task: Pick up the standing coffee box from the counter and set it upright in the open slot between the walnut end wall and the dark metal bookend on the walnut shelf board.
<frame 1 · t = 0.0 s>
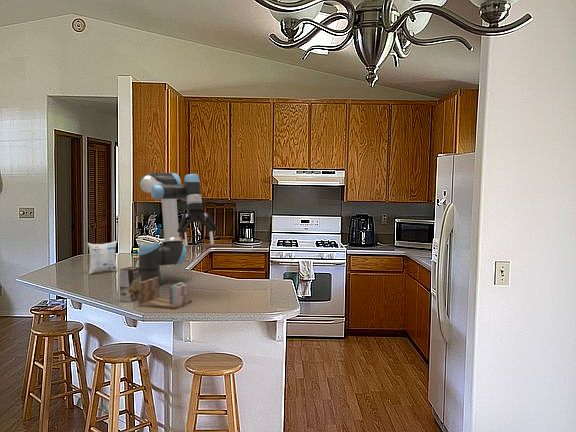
hand: (199, 245, 274), 28 cm above the countertop, tool tilted 20°, fingers open, 13 cm apart
pouch: (103, 273, 348), on the countertop
coffee box: (130, 300, 276), on the countertop
shelf: (165, 304, 267), on the countertop
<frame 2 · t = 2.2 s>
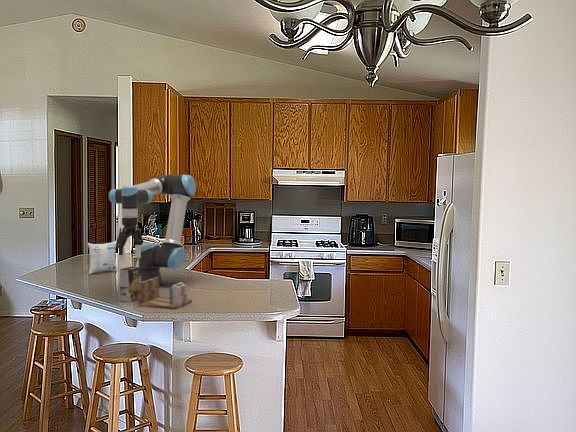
hand: (130, 259, 274), 20 cm above the countertop, tool pointing down, fingers open, 13 cm apart
nothing on the countertop moved.
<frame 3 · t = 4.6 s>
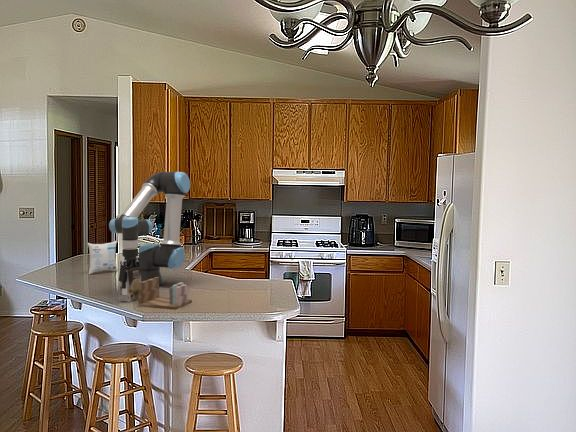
hand: (130, 292, 275), 4 cm above the countertop, tool pointing down, fingers closed on coffee box, 9 cm apart
coffee box: (130, 300, 276), on the countertop, touching gripper
everything else where it was.
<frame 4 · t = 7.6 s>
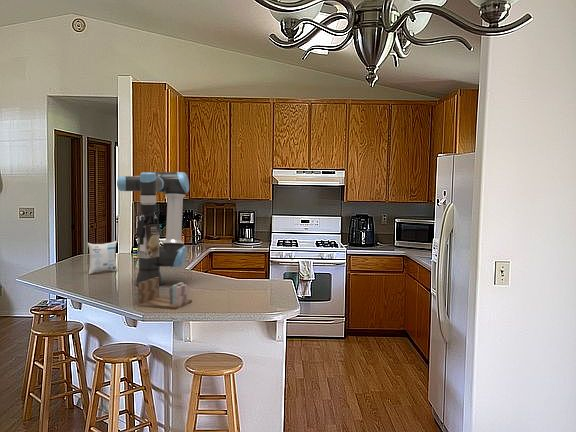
hand: (148, 250, 268), 26 cm above the countertop, tool pointing down, fingers closed on coffee box, 9 cm apart
coffee box: (148, 257, 269), point 22 cm above the countertop, touching gripper
everything else where it was.
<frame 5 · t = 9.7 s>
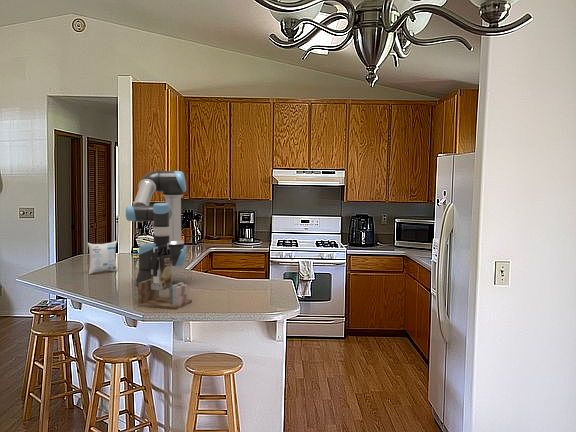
hand: (161, 281, 267), 11 cm above the countertop, tool pointing down, fingers closed on coffee box, 9 cm apart
coffee box: (161, 288, 267), point 7 cm above the countertop, touching gripper
everything else where it was.
when the fingers open (6 cm above the countertop, at t = 11.2 s): coffee box drops 1 cm, resting on shelf.
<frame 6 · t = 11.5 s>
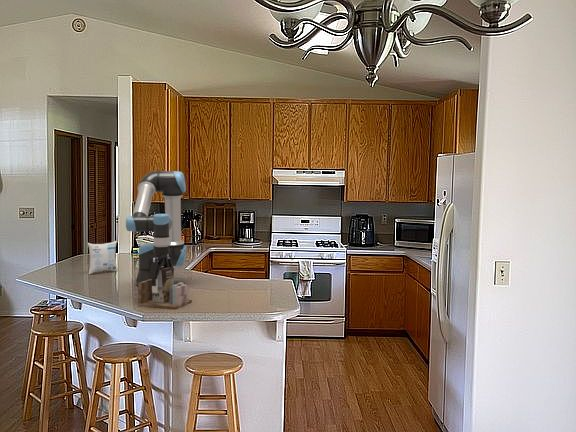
hand: (161, 290, 267), 7 cm above the countertop, tool pointing down, fingers open, 12 cm apart
coffee box: (163, 301, 269), point 1 cm above the countertop, touching shelf
everything else where it was.
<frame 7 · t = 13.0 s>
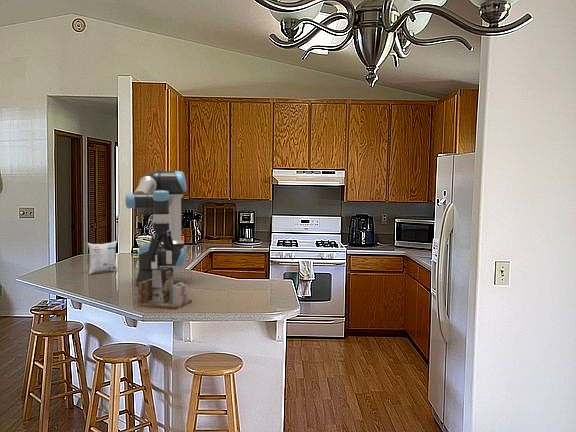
hand: (161, 266, 267), 18 cm above the countertop, tool pointing down, fingers open, 13 cm apart
nothing on the countertop moved.
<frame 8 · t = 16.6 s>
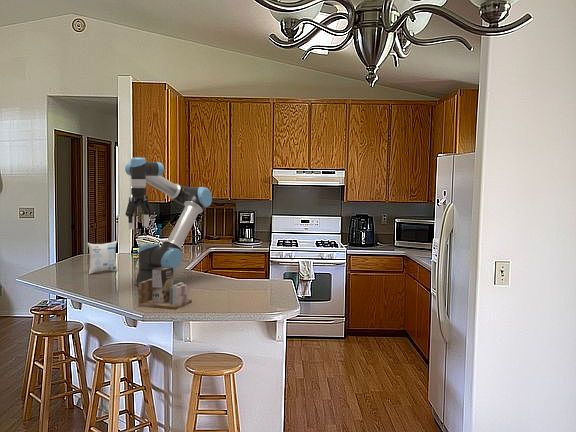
hand: (139, 228, 287), 35 cm above the countertop, tool pointing down, fingers open, 13 cm apart
nothing on the countertop moved.
at the end: coffee box inside the target area on the shelf (1.1 cm from its centre), point 1.0 cm above the shelf's base; coffee box tilted 0°; the gripper is holding nothing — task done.
